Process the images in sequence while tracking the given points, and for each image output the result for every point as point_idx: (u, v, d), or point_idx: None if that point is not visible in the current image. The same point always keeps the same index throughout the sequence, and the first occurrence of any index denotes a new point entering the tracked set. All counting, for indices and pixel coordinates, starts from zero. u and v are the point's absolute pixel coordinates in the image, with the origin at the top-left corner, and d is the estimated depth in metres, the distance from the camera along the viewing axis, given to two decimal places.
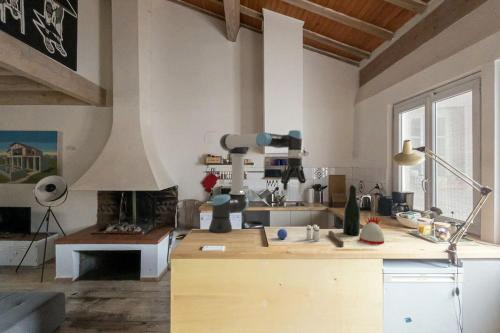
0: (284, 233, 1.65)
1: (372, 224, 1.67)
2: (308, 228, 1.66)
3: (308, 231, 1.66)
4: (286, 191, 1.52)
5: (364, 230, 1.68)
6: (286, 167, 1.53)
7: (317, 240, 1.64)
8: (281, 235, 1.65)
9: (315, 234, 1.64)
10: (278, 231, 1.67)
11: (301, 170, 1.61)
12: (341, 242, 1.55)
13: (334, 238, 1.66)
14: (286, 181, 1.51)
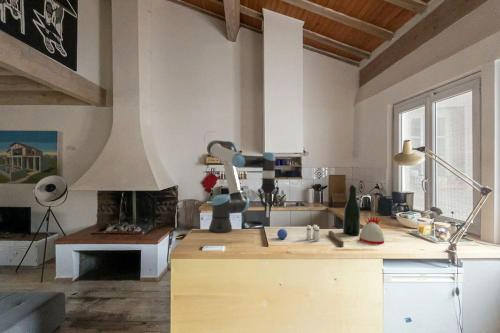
0: (284, 233, 1.65)
1: (372, 224, 1.67)
2: (308, 228, 1.66)
3: (308, 231, 1.66)
4: (266, 213, 1.67)
5: (364, 230, 1.68)
6: (258, 190, 1.68)
7: (317, 240, 1.64)
8: (281, 235, 1.65)
9: (315, 234, 1.64)
10: (278, 231, 1.67)
11: (275, 192, 1.66)
12: (341, 242, 1.55)
13: (334, 238, 1.66)
14: (264, 204, 1.66)
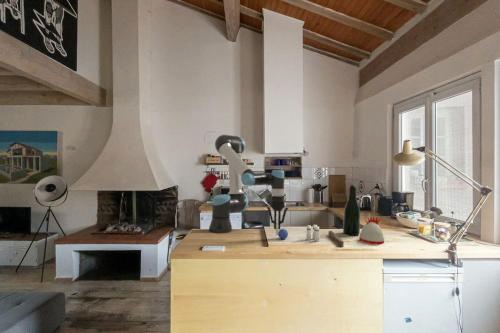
0: (285, 233, 1.65)
1: (372, 224, 1.67)
2: (308, 228, 1.66)
3: (308, 231, 1.66)
4: None
5: (364, 230, 1.68)
6: (267, 208, 1.67)
7: (317, 240, 1.64)
8: (282, 235, 1.65)
9: (315, 234, 1.64)
10: (279, 231, 1.67)
11: (284, 210, 1.66)
12: (341, 242, 1.55)
13: (334, 238, 1.66)
14: (274, 222, 1.66)
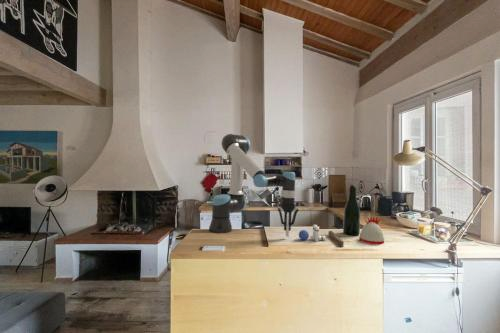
0: (301, 236, 1.64)
1: (372, 224, 1.67)
2: (323, 238, 1.66)
3: (320, 238, 1.66)
4: (286, 232, 1.67)
5: (364, 230, 1.68)
6: None
7: (317, 240, 1.64)
8: (305, 237, 1.64)
9: (315, 234, 1.64)
10: None
11: (295, 211, 1.66)
12: (341, 242, 1.55)
13: (334, 238, 1.66)
14: (284, 223, 1.66)
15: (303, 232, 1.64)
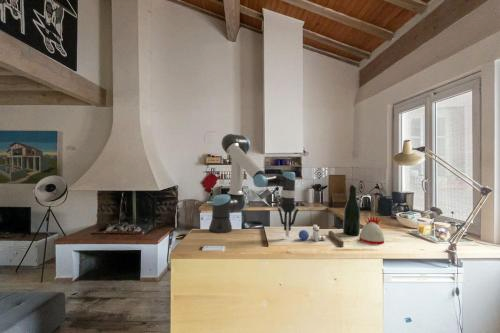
0: (301, 236, 1.64)
1: (372, 224, 1.67)
2: (323, 237, 1.66)
3: (319, 237, 1.66)
4: (286, 232, 1.67)
5: (364, 230, 1.68)
6: None
7: (317, 240, 1.64)
8: (305, 237, 1.64)
9: (315, 234, 1.64)
10: None
11: (295, 211, 1.66)
12: (341, 242, 1.55)
13: (334, 238, 1.66)
14: (284, 223, 1.66)
15: (303, 232, 1.64)
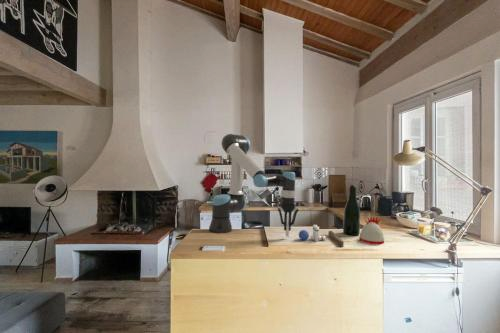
0: (301, 236, 1.64)
1: (372, 224, 1.67)
2: (323, 238, 1.66)
3: (320, 238, 1.66)
4: (286, 232, 1.67)
5: (364, 230, 1.68)
6: None
7: (317, 240, 1.64)
8: (305, 237, 1.64)
9: (315, 234, 1.64)
10: None
11: (295, 211, 1.66)
12: (341, 242, 1.55)
13: (334, 238, 1.66)
14: (284, 223, 1.66)
15: (303, 232, 1.64)
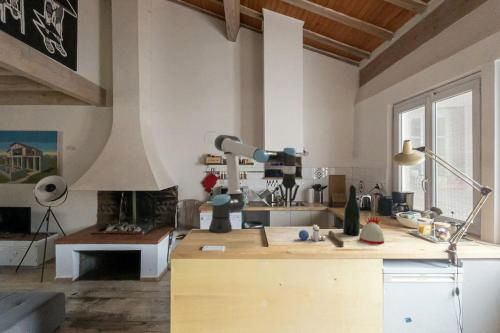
0: (301, 236, 1.64)
1: (372, 224, 1.67)
2: (323, 237, 1.66)
3: (319, 237, 1.66)
4: None
5: (364, 230, 1.68)
6: None
7: (317, 240, 1.64)
8: (305, 237, 1.64)
9: (315, 234, 1.64)
10: None
11: (295, 188, 1.66)
12: (341, 242, 1.55)
13: (334, 238, 1.66)
14: (285, 199, 1.66)
15: (303, 232, 1.64)
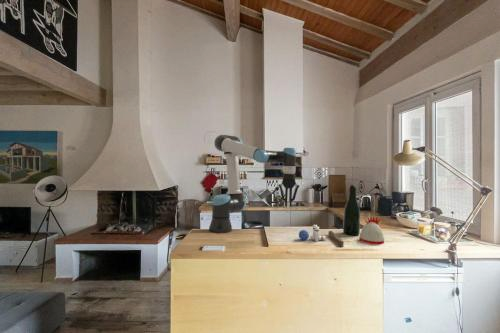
0: (301, 236, 1.64)
1: (372, 224, 1.67)
2: (323, 237, 1.66)
3: (320, 237, 1.66)
4: None
5: (364, 230, 1.68)
6: None
7: (317, 240, 1.64)
8: (305, 237, 1.64)
9: (315, 234, 1.64)
10: None
11: None
12: (341, 242, 1.55)
13: (334, 238, 1.66)
14: (285, 199, 1.66)
15: (303, 232, 1.64)
